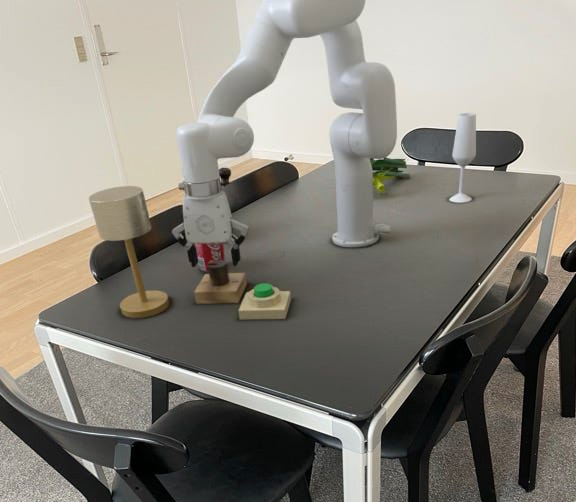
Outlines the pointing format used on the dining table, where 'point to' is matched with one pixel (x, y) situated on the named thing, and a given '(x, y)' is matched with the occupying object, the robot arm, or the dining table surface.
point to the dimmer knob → (218, 272)
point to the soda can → (209, 254)
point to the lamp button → (263, 290)
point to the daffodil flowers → (387, 171)
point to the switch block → (265, 305)
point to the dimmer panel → (221, 290)
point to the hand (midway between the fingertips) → (215, 264)
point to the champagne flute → (464, 149)
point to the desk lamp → (128, 241)
